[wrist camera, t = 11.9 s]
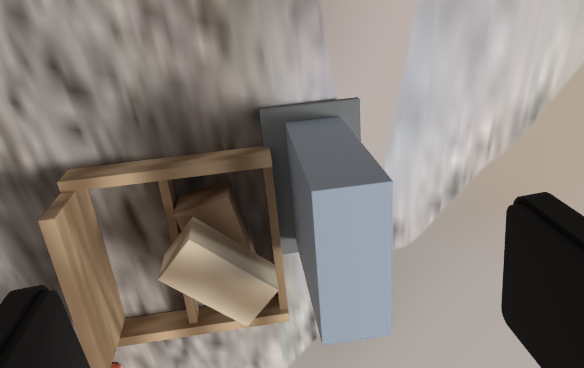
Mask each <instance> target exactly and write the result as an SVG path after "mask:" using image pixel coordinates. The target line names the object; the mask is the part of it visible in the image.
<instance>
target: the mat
mask: <svg viewBox="0 0 584 368" xmlns="http://www.w3.org/2000/svg"><path fill="white" fill-rule="evenodd" d="M259 113H260V122H261V131H262V139H263V147H264V148H267V147H269V149H270V153H271V159H272V170H273V179H274V188H275V197H276V206H277V215H278V224H279V233H280V242H281V251H282V254H288V253H295V252H299V250H298V246H297V242H296V237H295V226H294V215H293V204H292V193H291V183H290V172H289V161H288V150H287V139H286V128H285V123H287V122H296V121H305V120H314V119H322V118H331V117H341V118H342V120H343V121H344V122H345V123H346V125H347V126H348V127H349V128H350V129H351V131H352V132H353V133H354V134H355V136H356V137H357V138H358V139H359V141H360V142H361V136H360V99H359V98H358V97H357V98H347V99H339V100H330V101H321V102H313V103H304V104H295V105H286V106H278V107H269V108H260V109H259Z"/></svg>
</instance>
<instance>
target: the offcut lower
mask: <svg viewBox="0 0 584 368" xmlns="http://www.w3.org/2000/svg"><path fill="white" fill-rule="evenodd" d="M174 216H175V218H176V221H177V223H178V225H179V227H180V229H181V231H182V230H183V229H184V228H185V226H186V225H187V224H188V222H189V221H190V220H191V218H192V217H194V218H196V219H198V220H199V221H201V222H203V223H205V224H206V225H208V226H210V227H211V228H213V229H215V230H217V231H218V232H220V233H222V234H223V235H225V236H227V237H228V238H230V239H232V240H234V241H235V242H237V243H239V244H240V245H242V246H244V247H245V248H247V249H249V250H251V251H252V252H254V253H256V254H257V252H256V249H255V247H254V244H253V241H252V239H251V236H250V234H249V231H248V229H247V226H246V223H245V221H244V218H243V216H242V213H241V211H240V208H239V206H238V203H237V200H236V198H235V195H234V193H233V190H232V188H231V185H230V182H229V180H228V181H225V182H222V183H219V184H215V185H212V186H209V187H206V188H203V189H200V190H197V191H194V192H191V193H188V194H185V195H181V196H178V199H177V203H176V207H175V211H174ZM257 255H258V254H257Z"/></svg>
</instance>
